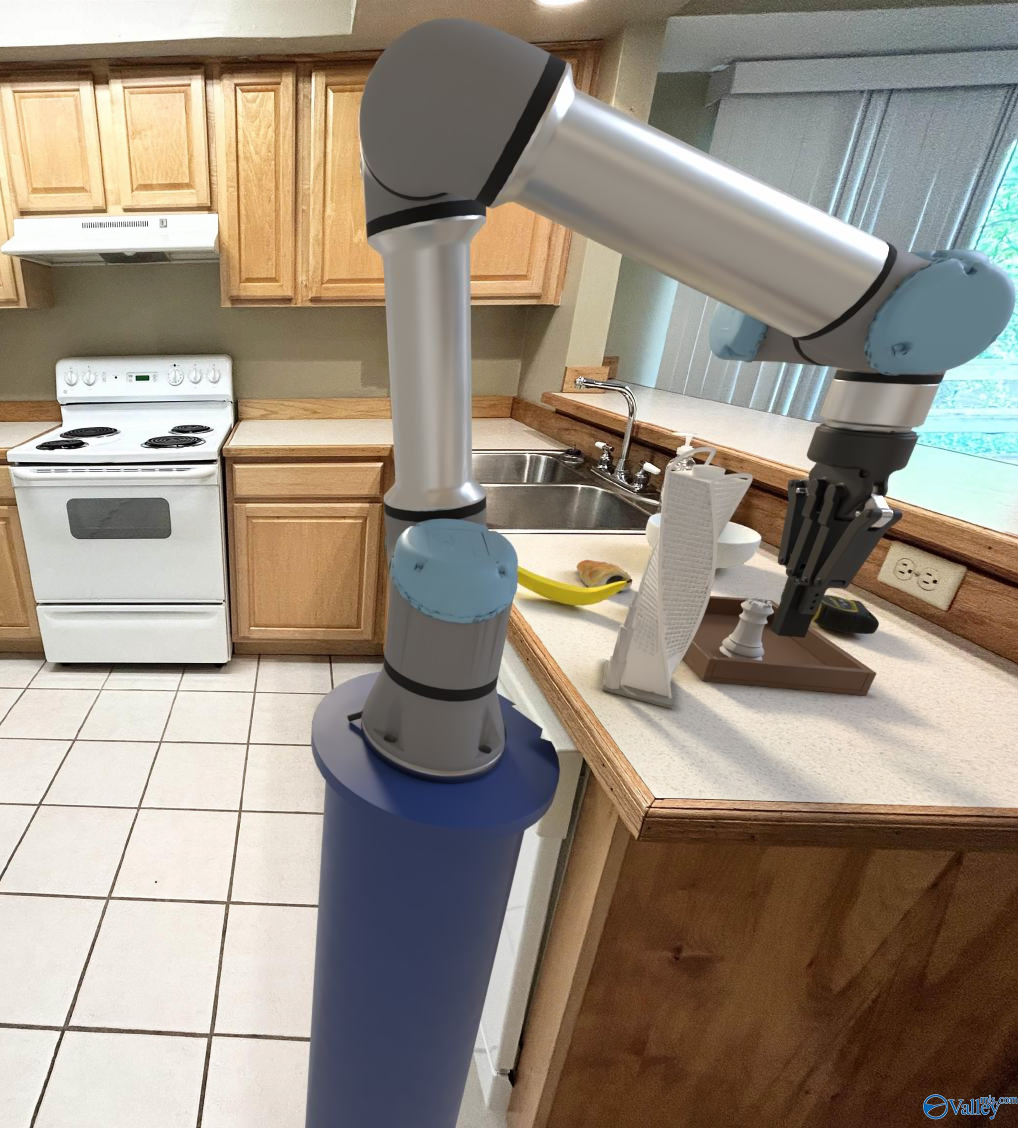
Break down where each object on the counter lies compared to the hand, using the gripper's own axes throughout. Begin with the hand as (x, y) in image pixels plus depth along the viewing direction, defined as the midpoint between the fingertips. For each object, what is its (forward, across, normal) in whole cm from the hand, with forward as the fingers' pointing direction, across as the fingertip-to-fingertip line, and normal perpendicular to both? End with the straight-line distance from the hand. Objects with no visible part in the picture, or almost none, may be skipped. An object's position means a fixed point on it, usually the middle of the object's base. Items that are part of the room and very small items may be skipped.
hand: (787, 633), depth 68 cm
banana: (+8, +20, +19) cm, 29 cm away
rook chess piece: (+7, +6, 0) cm, 9 cm away
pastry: (+8, +29, +9) cm, 31 cm away
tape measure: (+8, +19, -20) cm, 29 cm away
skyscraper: (+8, -2, +14) cm, 16 cm away
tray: (+7, +10, -2) cm, 13 cm away
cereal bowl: (+8, +42, -11) cm, 44 cm away
